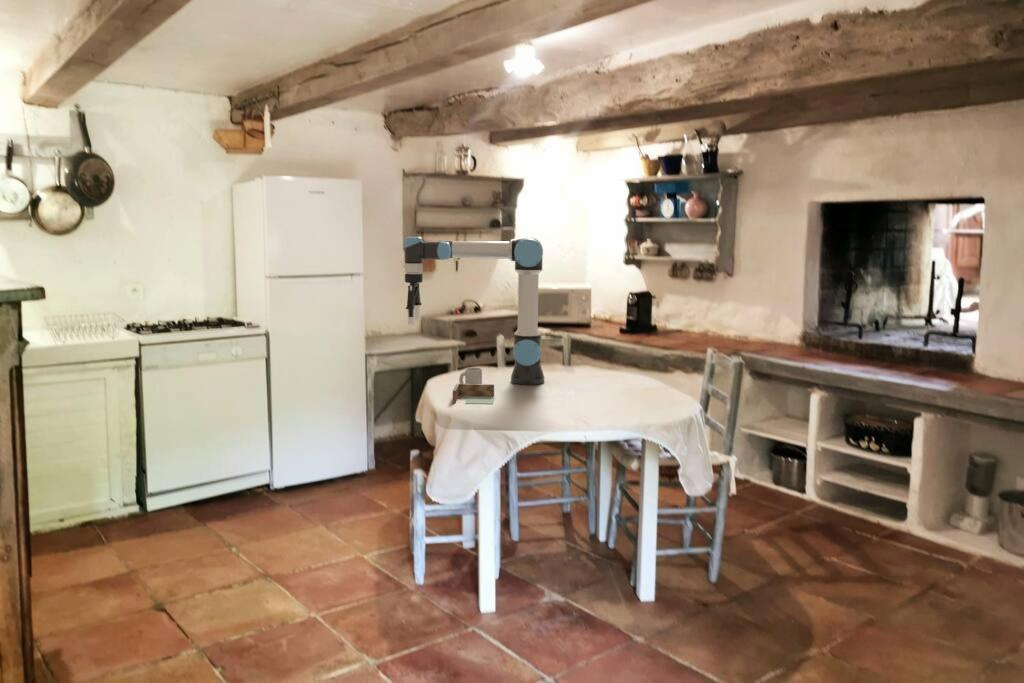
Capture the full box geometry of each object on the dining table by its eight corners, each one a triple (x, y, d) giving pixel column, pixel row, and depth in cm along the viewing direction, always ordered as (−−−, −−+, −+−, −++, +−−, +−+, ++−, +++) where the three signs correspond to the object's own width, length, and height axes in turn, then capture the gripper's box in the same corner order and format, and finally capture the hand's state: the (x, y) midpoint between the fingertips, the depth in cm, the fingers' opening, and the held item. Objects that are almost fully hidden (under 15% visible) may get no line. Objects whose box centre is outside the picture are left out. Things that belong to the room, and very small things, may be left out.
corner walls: (494, 396, 329) (494, 384, 328) (491, 403, 315) (491, 391, 315) (456, 395, 330) (456, 383, 329) (452, 403, 316) (452, 390, 315)
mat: (495, 397, 327) (494, 396, 327) (492, 404, 315) (492, 403, 315) (468, 396, 327) (468, 396, 327) (465, 403, 315) (465, 403, 315)
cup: (484, 390, 339) (484, 370, 338) (461, 392, 336) (461, 371, 334) (478, 387, 346) (479, 367, 344) (456, 388, 342) (456, 368, 341)
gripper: (410, 271, 352) (410, 318, 355) (399, 275, 327) (400, 326, 331) (426, 271, 352) (427, 318, 355) (417, 275, 327) (417, 326, 330)
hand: (414, 322), depth 343 cm, fingers open, 13 cm apart
